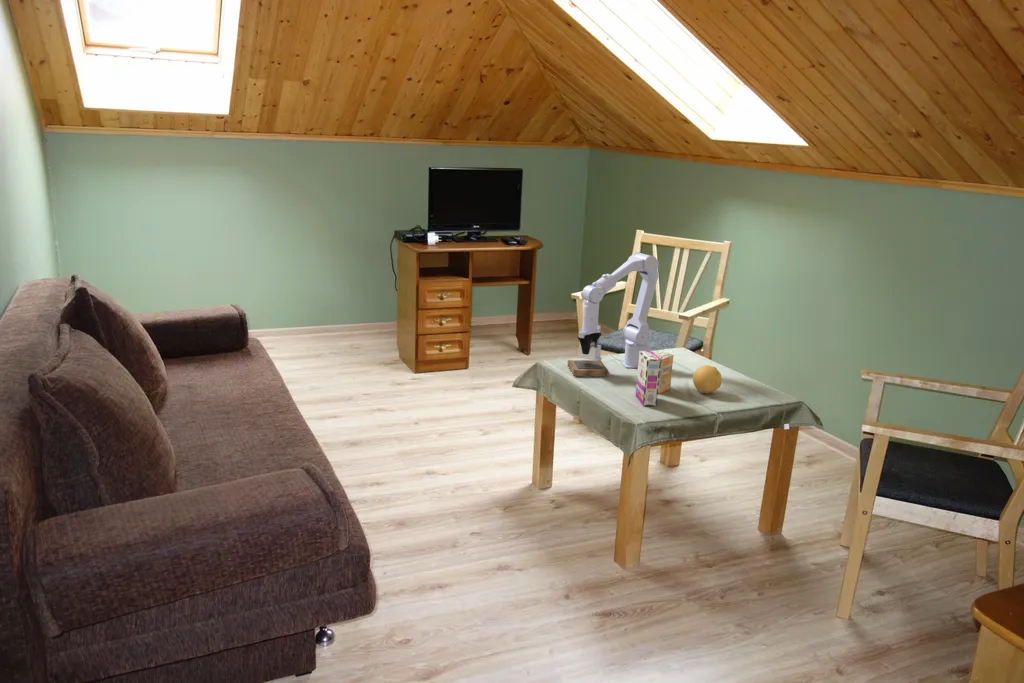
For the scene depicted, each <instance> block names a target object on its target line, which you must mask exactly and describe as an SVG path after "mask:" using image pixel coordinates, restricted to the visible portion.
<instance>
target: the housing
mask: <svg viewBox="0 0 1024 683" xmlns="http://www.w3.org/2000/svg"><path fill="white" fill-rule="evenodd" d="M601 349H602V345H600V344H598V343H597V344H595V342H594V341H591V344H590V348H589V353H588V355H586V354H583V353H582V348H581V344H578V352H577V354H576V355H577V357H578V358H580V359H583V360H593V361H595V360H601V361H602V356H601V354H602V353H601V352H602V350H601Z"/></svg>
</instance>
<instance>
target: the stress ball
mask: <svg viewBox="0 0 1024 683" xmlns="http://www.w3.org/2000/svg"><path fill="white" fill-rule="evenodd" d="M692 383H693V385H694V387H695V388H696V390H698V391H699V392H701V393H702V392H703V393H702V394H704V393H706V395H709V394H712V393H714V392H716V391H717V390H718V389H719V388H720V387H721V385H722V374H721V372H720V371H719V369H718V368H717V367H715V366H712V365H702V366H700V367H698V368H697V369H696V370H695V371H694V373H693V376H692ZM708 393H709V394H708Z"/></svg>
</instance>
